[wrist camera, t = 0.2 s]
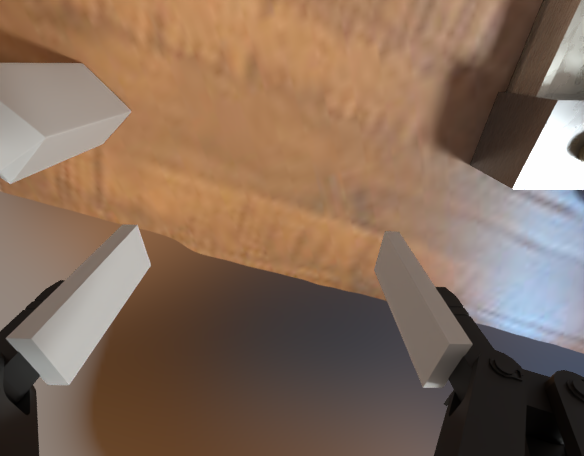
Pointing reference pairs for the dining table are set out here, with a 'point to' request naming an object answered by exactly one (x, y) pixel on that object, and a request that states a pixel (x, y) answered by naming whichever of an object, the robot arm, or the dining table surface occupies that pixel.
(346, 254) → the dining table surface
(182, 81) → the dining table surface
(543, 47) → the grey cabinet
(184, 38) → the dining table surface
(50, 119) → the white milk carton
